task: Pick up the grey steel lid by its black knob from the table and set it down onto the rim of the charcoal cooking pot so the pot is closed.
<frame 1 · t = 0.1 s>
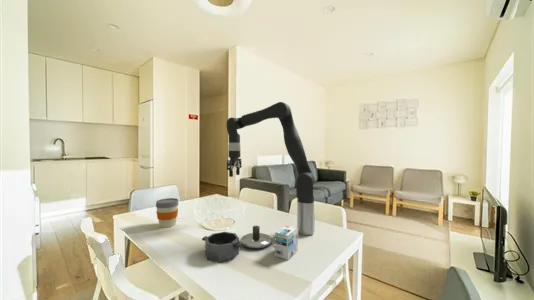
hand: (234, 175, 140), 29 cm above the table, fingers open, 8 cm apart
pot: (222, 253, 100), on the table
light bulb box: (286, 253, 101), on the table
reusable coffee cup: (167, 225, 135), on the table
lid: (256, 243, 111), on the table
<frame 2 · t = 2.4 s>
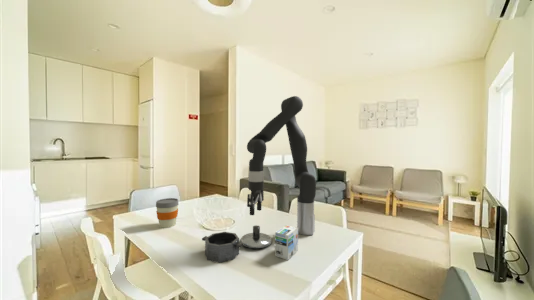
hand: (255, 212, 110), 15 cm above the table, fingers open, 8 cm apart
nothing on the table moved.
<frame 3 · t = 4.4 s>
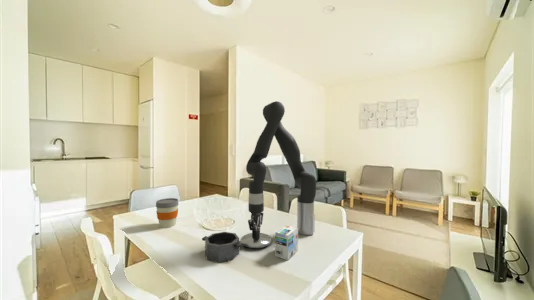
hand: (256, 235, 111), 4 cm above the table, fingers closed on lid, 3 cm apart
lid: (256, 243, 111), on the table, touching gripper
everything else where it was.
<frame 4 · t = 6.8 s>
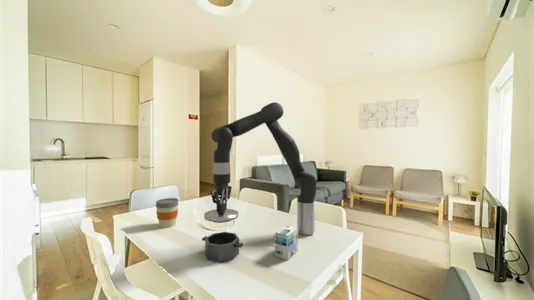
hand: (221, 210, 100), 20 cm above the table, fingers closed on lid, 3 cm apart
lid: (221, 218, 100), point 16 cm above the table, touching gripper
everything else where it was.
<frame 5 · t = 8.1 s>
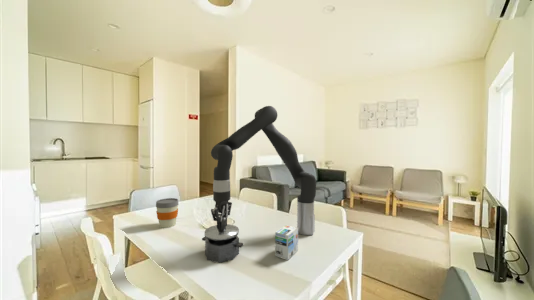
hand: (222, 227, 100), 12 cm above the table, fingers closed on lid, 3 cm apart
lid: (221, 235, 100), point 8 cm above the table, touching gripper
everything else where it was.
when the fingers open (11 cm above the table, at t = 9.0 s): lid drops 2 cm, resting on pot.
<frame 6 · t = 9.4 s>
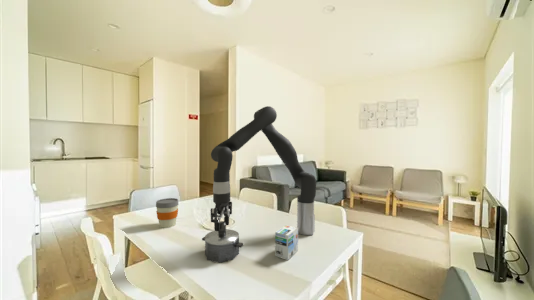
hand: (222, 227, 100), 12 cm above the table, fingers open, 7 cm apart
lid: (222, 241, 100), point 6 cm above the table, touching pot
everything else where it was.
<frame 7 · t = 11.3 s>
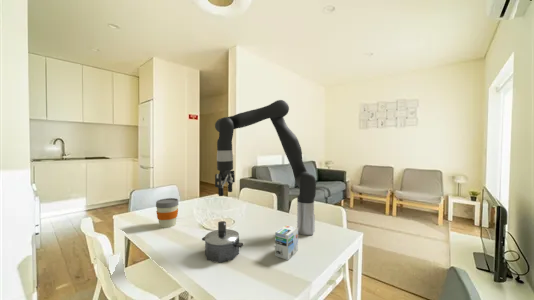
hand: (225, 193, 106), 26 cm above the table, fingers open, 8 cm apart
nothing on the table moved.
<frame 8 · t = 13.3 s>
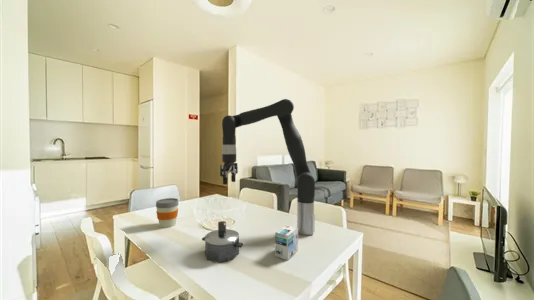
hand: (229, 183, 121), 28 cm above the table, fingers open, 8 cm apart
nothing on the table moved.
at the end: lid 0.1 cm off-centre on the pot, point 5.8 cm above the pot's base; lid tilted 0°; the gripper is holding nothing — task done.
